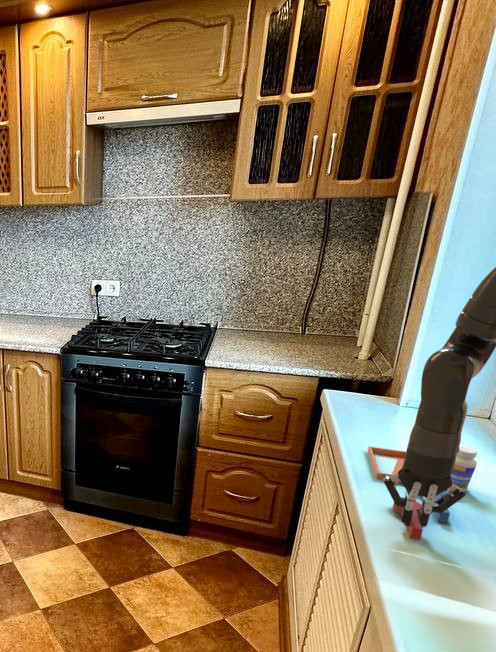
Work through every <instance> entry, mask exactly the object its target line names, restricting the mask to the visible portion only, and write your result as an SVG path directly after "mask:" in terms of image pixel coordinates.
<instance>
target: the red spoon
mask: <svg viewBox="0 0 496 652" xmlns="http://www.w3.org/2000/svg"><path fill="white" fill-rule="evenodd" d="M402 498H404V496H403V497H402ZM420 508H422V503H420V502H418V501H417V500H416V501H415V502H414V506H413V509H412V510H413V514H412V518H411V520H410V523H409V526H406V529H407V532H408V536H409V539H413V540H417V541H420V540H421V538H422V534H423V528H422V526H421V523H420V522H419V519H418V513H419V509H420ZM392 509H393V511H394V512H396V513H398V514H400V515H401V513H402V509H403V507H401V506H397V505H396V504H395V503H394V502H393V504H392Z"/></svg>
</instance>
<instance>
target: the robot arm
mask: <svg viewBox="0 0 496 652" xmlns="http://www.w3.org/2000/svg"><path fill="white" fill-rule="evenodd" d="M495 349H496V266H495V267H494V268H493V269H491V271H490V272H489V273H487V275H486V276H485V277H484V278H483V279H482V280H481V282H480V283H479V284H478V285H477V286H476V288H475V289H474V291H473V293H472V294H471V296H470V297H469V299H468V300H467V302H466V303H465V305H464V306H463V308H462V309H461V311H460V313H459V315H458V316H457V319H456V321H455V328H454V330H453V331H452V333H451V334H450V336H449V338H447V341H446V342H445V344H444V345H443V346H442V347H441V348H440V349H439V350H437V351H435V352H433V353H432V354H431V355H430V356H429V357H428V358H427V360H426V362H425V363H424V367H423V370H422V374H421V381H420V382H421V384H420V402H419V405H418V409H417V413H416V415H415V416H416V417H415V421H414V425H413V427H412V429H411V431H410V434H409V439H408V441H407V447H406V455H405V459H404V463H403V467H402V469H401V470H399V472H398V474H396V475H393V476H389V475H384V476H383V479H382V480H383V483H384V485H385V488H386V489H387V491H388V493H389V495H390V497H391V499H392V501H393V504H394V503H395V504H396V505H397V506H401V507H403V509H402V513H401V514H400V521H401V523H402V524H403V526H404V527H407V526H409V523H410V520H411V518H412V514H413V510H412V509H413V506H414V502H415V501H417V499H418V497H419V496H423V499H422V501H421V505H422V508H420V509H419V513H418V519H419V522H420V523H421V526H422V529H423V528H426V527H427V526H428V523H429V520H430V516H431V514H433V513H434V512H437V513H443V512H444V511H445V510H447V509H448V510H449V509H450V508H451V507H452V506H453V505H455V504H457V503H458V502H459V501H461V500H462V499H463V498H465V497H466V493H465V491H463V489H462V487H460V486H456V485H454V484H453V483H452V480H451V475H452V471H453V468H454V464H455V460H456V457H457V453H458V452H459V449H460V448H459V446H460V445H461V442H462V431H463V428H464V425H465V421H466V418H467V414H468V403H467V401H466V399H467V395H468V391H469V387H470V384H471V381H472V379H474V378H475V377H476V376H478V375H479V374H480V373H481V371H482V370H483V369H484V367H485V366H486V364H487V363H488V362H489V360H490V358H491V357H492V355H493V353H494V351H495ZM399 480H400V481H401V483H400V484H402V485H403V488H404V489H405V495H404V496H403V498H402V497H401V495H400V493H399V492H398V489H397V488H396V487H398V486H399V483H398V481H399ZM443 491H445V493H446V494H445V495H444V496H442V497H441V498H440V499H438V500H437V501H436V502H434V501H435V496H437V495H439V494H440V493H442V492H443Z"/></svg>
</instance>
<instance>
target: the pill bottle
mask: <svg viewBox="0 0 496 652" xmlns="http://www.w3.org/2000/svg"><path fill="white" fill-rule="evenodd" d="M459 448H460V449H459V452H458V453H457V457H456V460H455V464H454V468H453V471H452V475H451V480H452V483H453V484H454V485H456V486H460V487H462V489H463V491H464V492H466V491H467V489H468V488H469V484H470V482H471V480H472V477H473V475H474V472H475V470H476V467H477V464H478V462H477V460H476V459H475V458H476V457H477V454H478V451H477V450H476V449H474V448H472V447H470V446H466V445H462V444H460V446H459Z"/></svg>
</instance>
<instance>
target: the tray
mask: <svg viewBox="0 0 496 652" xmlns="http://www.w3.org/2000/svg"><path fill="white" fill-rule="evenodd" d="M406 451H407V450H406ZM406 451H405V450H398V449H390V448H383V447H376V446H370V445H368V447H367V453H368V455H369V460H370V462H371V466H372V470H373V472H374V476H375V479H379V480H383V476H384V475H389V476H393V475H396V474H398V472H399V470H401V469H402V467H403V463H404V459H405V455H406ZM375 454H380V455H382V457H383V458H384V457H385V458H389V459H394V460H396V462H395V465H394V467H393V469H392V472H391V473H385V472H380V469H379V466H378V463H377V460H376V457H375ZM398 484H402V483H401V481H400V480H399V481H398Z"/></svg>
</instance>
